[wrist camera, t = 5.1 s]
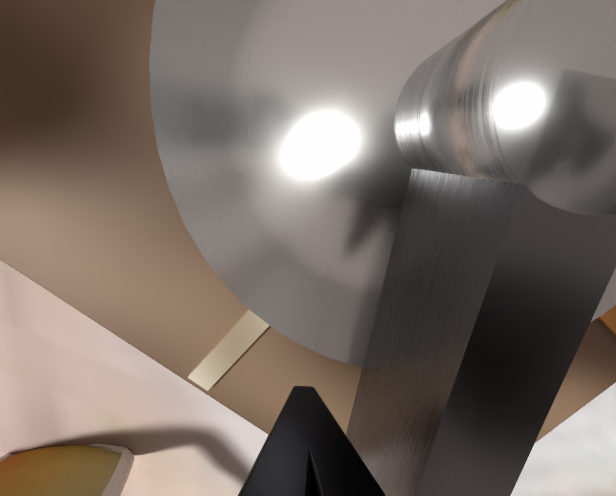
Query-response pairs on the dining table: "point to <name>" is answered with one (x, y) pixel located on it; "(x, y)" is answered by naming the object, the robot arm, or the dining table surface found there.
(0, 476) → the sunglasses
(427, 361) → the dial
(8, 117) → the dial base
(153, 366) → the dining table surface
